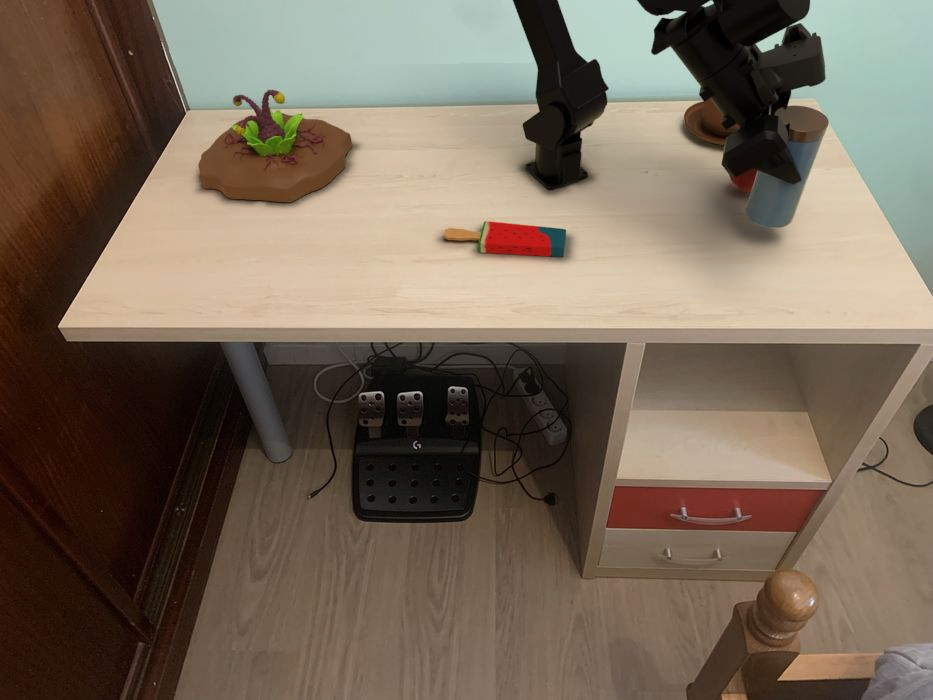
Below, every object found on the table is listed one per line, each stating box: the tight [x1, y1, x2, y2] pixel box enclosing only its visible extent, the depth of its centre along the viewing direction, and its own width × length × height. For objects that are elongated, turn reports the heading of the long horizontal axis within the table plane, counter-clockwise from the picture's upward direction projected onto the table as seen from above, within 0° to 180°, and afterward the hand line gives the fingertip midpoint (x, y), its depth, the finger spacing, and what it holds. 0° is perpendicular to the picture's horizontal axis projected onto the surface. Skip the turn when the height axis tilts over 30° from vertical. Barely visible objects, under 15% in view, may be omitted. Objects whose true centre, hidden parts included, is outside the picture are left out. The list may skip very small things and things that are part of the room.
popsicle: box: [442, 220, 567, 258], centre depth 91 cm, size 4×2×15 cm
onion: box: [728, 169, 757, 194], centre depth 94 cm, size 6×6×8 cm
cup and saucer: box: [683, 98, 739, 146], centre depth 105 cm, size 12×12×6 cm
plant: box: [197, 89, 353, 203], centre depth 101 cm, size 20×20×11 cm
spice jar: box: [744, 105, 830, 229], centre depth 83 cm, size 6×6×12 cm
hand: (797, 167), depth 83 cm, fingers closed on spice jar, 5 cm apart
